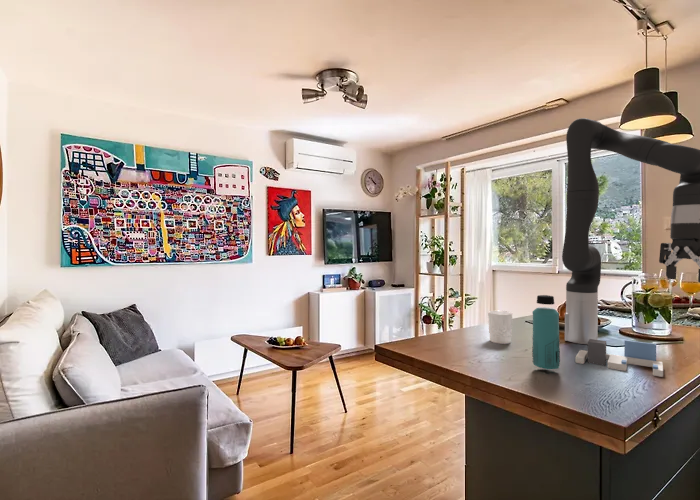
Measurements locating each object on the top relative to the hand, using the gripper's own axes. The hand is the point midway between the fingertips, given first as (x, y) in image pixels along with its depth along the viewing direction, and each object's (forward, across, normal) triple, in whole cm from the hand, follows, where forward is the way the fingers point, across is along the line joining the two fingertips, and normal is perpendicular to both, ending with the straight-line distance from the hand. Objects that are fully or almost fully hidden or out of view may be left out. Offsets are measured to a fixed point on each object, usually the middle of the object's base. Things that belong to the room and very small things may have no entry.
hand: (686, 280), depth 103 cm
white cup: (+24, -30, -38) cm, 54 cm away
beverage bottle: (+24, 0, -42) cm, 48 cm away
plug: (+24, -5, -23) cm, 33 cm away
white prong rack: (+23, -2, -18) cm, 30 cm away
